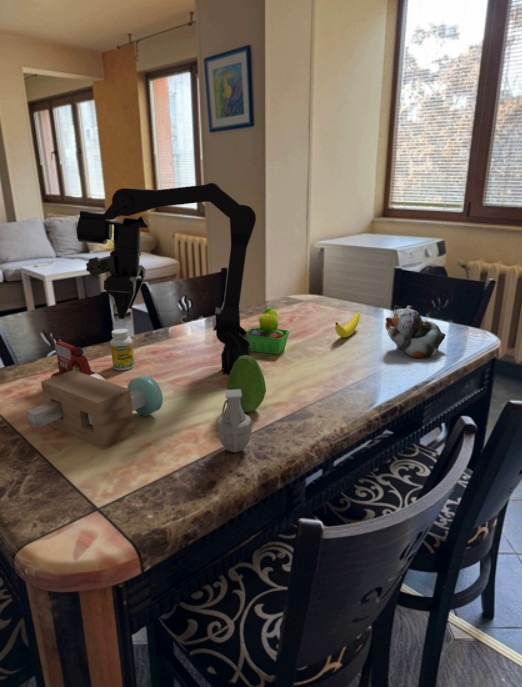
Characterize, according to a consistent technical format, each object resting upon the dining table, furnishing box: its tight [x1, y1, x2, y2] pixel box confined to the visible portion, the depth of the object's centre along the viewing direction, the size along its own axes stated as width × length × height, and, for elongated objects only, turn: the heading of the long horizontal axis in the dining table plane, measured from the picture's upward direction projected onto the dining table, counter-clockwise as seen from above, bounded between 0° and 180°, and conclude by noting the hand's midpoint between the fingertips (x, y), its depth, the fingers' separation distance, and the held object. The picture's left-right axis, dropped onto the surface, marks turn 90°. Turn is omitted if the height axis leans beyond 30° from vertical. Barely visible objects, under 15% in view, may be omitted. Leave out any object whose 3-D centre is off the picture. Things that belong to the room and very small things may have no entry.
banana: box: [334, 311, 361, 339], centre depth 147 cm, size 3×19×6 cm, turn 150°
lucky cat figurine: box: [384, 304, 447, 360], centre depth 132 cm, size 15×12×14 cm
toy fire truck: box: [50, 341, 97, 378], centre depth 111 cm, size 7×12×10 cm, turn 49°
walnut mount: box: [25, 370, 136, 451], centre depth 92 cm, size 15×17×9 cm
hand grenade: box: [216, 389, 253, 453], centre depth 84 cm, size 6×6×11 cm
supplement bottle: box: [109, 328, 136, 371], centre depth 124 cm, size 5×5×10 cm
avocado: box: [225, 355, 267, 413], centre depth 99 cm, size 8×8×12 cm
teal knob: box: [88, 374, 164, 425], centre depth 94 cm, size 13×8×8 cm, turn 144°
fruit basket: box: [245, 306, 290, 355], centre depth 135 cm, size 11×9×11 cm
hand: (125, 313), depth 116 cm, fingers open, 9 cm apart
